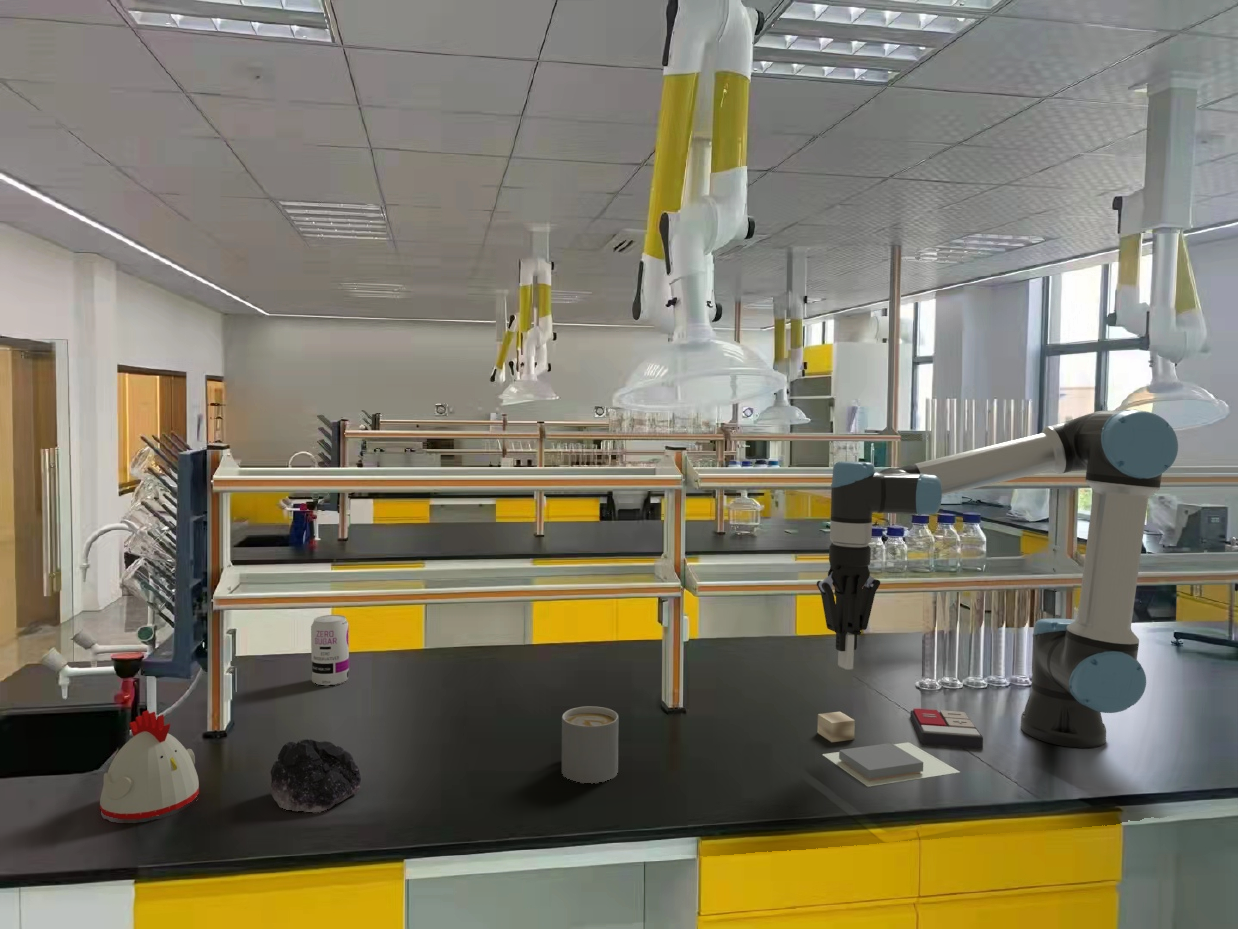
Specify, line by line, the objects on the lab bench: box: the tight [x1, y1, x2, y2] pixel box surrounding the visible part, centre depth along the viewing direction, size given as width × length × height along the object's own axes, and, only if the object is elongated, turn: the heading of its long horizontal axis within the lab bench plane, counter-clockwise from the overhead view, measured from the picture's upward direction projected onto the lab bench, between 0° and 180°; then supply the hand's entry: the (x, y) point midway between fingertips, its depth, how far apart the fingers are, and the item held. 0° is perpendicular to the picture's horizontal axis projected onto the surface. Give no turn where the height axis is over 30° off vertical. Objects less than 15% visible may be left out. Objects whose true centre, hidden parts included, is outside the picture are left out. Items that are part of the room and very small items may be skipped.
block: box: [817, 711, 856, 743], centre depth 163 cm, size 5×5×5 cm
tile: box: [838, 742, 923, 781], centre depth 148 cm, size 2×9×11 cm
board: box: [821, 742, 961, 787], centre depth 150 cm, size 19×14×1 cm
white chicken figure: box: [99, 709, 200, 819], centre depth 134 cm, size 14×14×15 cm
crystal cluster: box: [270, 738, 362, 813], centre depth 138 cm, size 13×14×10 cm
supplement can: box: [310, 614, 350, 685], centre depth 196 cm, size 8×8×15 cm
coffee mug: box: [561, 705, 619, 785], centre depth 150 cm, size 13×10×10 cm
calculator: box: [909, 708, 984, 750], centre depth 165 cm, size 11×4×15 cm
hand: (845, 667), depth 159 cm, fingers closed
